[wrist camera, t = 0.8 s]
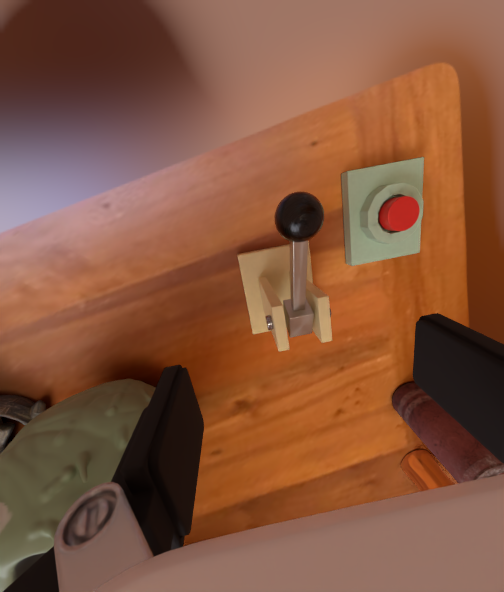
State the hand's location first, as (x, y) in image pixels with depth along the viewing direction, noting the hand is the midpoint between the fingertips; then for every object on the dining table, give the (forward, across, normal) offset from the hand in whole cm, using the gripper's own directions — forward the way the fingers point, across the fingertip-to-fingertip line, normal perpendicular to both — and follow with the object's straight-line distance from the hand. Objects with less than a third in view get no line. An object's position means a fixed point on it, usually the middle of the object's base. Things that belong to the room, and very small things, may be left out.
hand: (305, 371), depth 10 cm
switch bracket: (+22, -3, +4) cm, 23 cm away
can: (+22, -22, +27) cm, 41 cm away
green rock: (+22, +20, +17) cm, 35 cm away
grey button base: (+23, -17, -3) cm, 28 cm away
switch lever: (+12, -3, -2) cm, 12 cm away
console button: (+20, -17, -3) cm, 26 cm away
